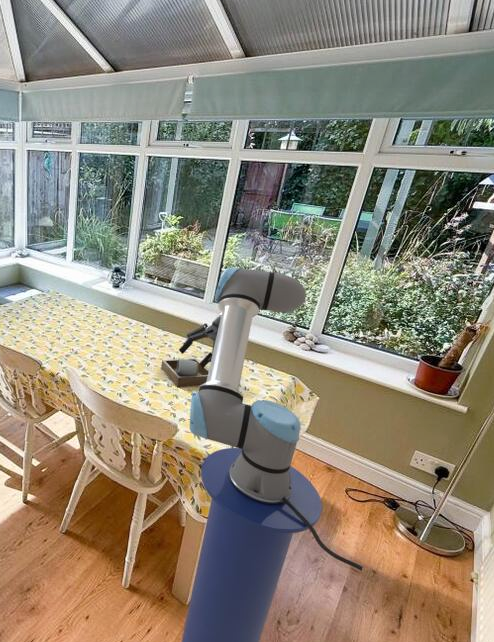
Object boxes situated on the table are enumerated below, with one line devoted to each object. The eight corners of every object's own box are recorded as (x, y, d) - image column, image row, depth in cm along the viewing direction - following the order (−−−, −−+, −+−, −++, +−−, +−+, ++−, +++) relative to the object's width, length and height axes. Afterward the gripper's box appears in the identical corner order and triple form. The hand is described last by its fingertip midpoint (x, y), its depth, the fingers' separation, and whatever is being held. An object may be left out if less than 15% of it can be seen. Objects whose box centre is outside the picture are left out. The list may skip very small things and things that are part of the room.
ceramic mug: (197, 381, 170) (199, 365, 167) (176, 379, 171) (179, 363, 168) (194, 369, 180) (196, 354, 177) (174, 367, 181) (177, 351, 178)
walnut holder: (213, 385, 169) (215, 375, 167) (176, 388, 166) (178, 377, 164) (194, 367, 184) (195, 358, 182) (160, 369, 181) (162, 360, 179)
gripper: (251, 338, 163) (214, 377, 163) (209, 317, 184) (177, 351, 185) (243, 327, 159) (206, 367, 159) (201, 306, 181) (168, 341, 181)
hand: (190, 358), depth 172 cm, fingers open, 13 cm apart
